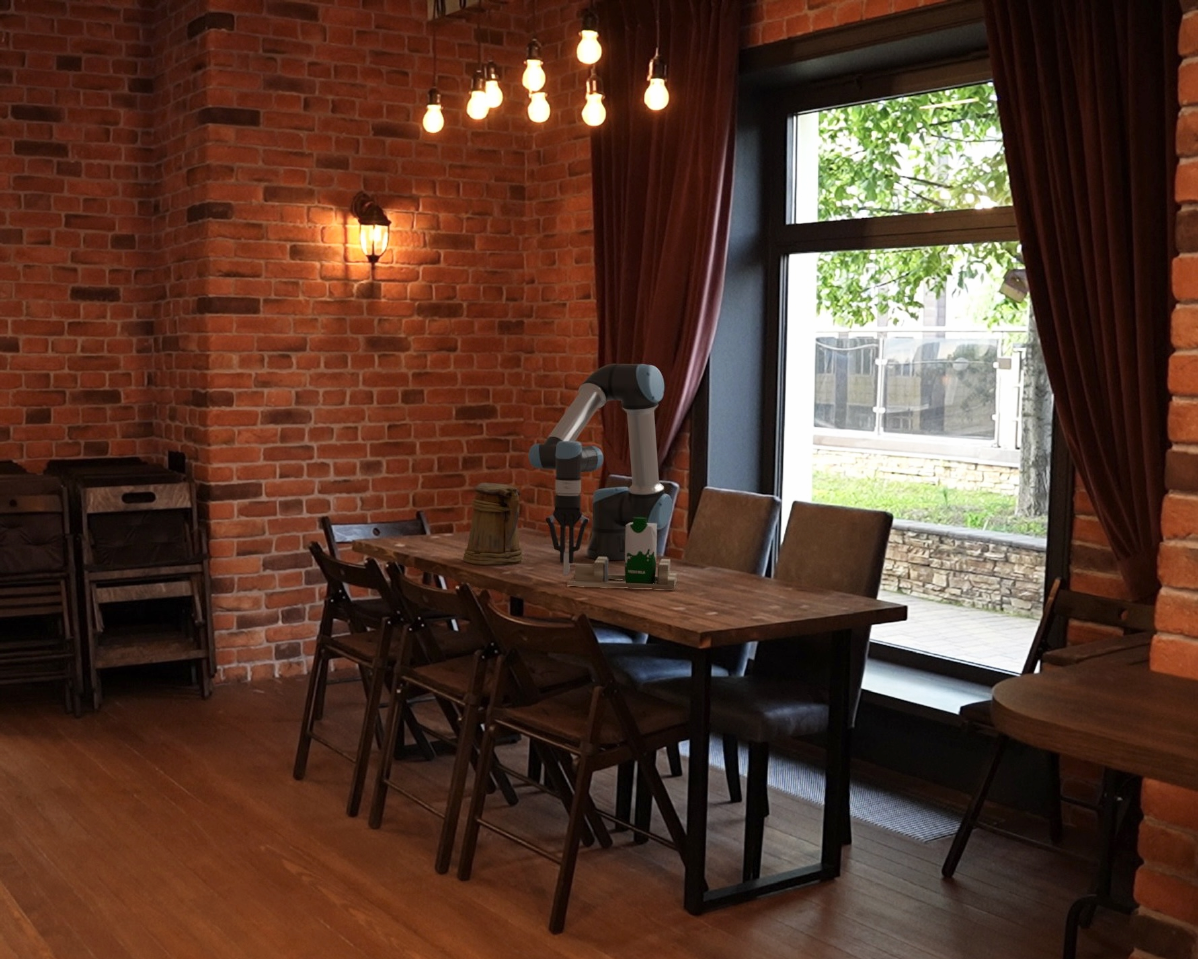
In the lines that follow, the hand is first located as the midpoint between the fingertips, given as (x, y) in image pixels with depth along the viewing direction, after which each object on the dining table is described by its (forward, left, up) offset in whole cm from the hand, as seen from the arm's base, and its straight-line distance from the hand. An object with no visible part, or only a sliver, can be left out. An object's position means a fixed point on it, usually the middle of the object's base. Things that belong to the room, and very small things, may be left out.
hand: (566, 574), depth 401 cm
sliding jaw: (0, +7, -2) cm, 8 cm away
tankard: (-32, -26, -3) cm, 41 cm away
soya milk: (0, +22, -3) cm, 22 cm away
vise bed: (0, +17, -2) cm, 17 cm away
